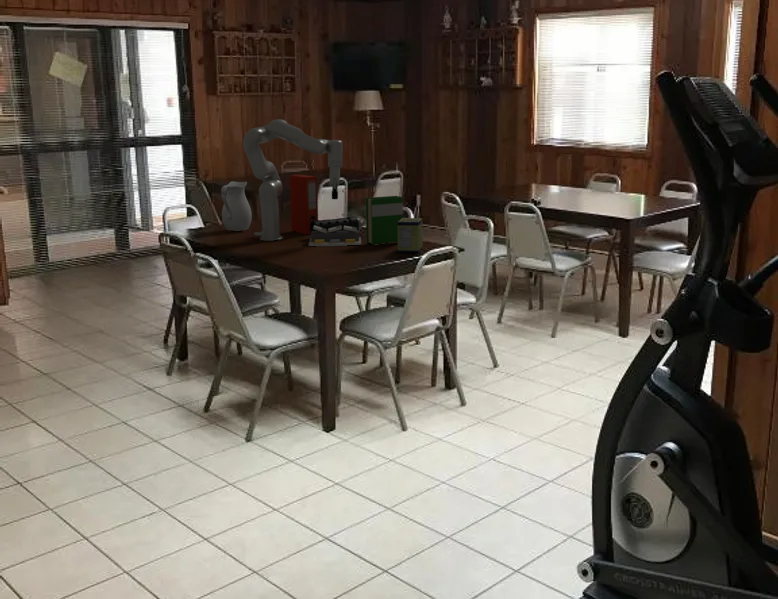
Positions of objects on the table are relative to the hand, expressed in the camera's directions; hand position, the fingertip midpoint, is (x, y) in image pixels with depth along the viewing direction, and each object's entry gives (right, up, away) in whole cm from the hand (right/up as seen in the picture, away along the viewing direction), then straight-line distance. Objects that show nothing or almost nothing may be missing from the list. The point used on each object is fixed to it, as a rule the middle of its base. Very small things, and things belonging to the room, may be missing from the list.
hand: (334, 199), depth 448 cm
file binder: (-19, -15, +35) cm, 43 cm away
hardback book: (+27, -24, -4) cm, 36 cm away
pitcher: (-61, -14, +41) cm, 74 cm away
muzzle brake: (-1, -19, +19) cm, 27 cm away
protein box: (+39, -29, -27) cm, 56 cm away
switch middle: (0, -16, -2) cm, 16 cm away
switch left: (-8, -16, -2) cm, 18 cm away
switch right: (+8, -16, -2) cm, 18 cm away
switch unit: (0, -23, -1) cm, 23 cm away
